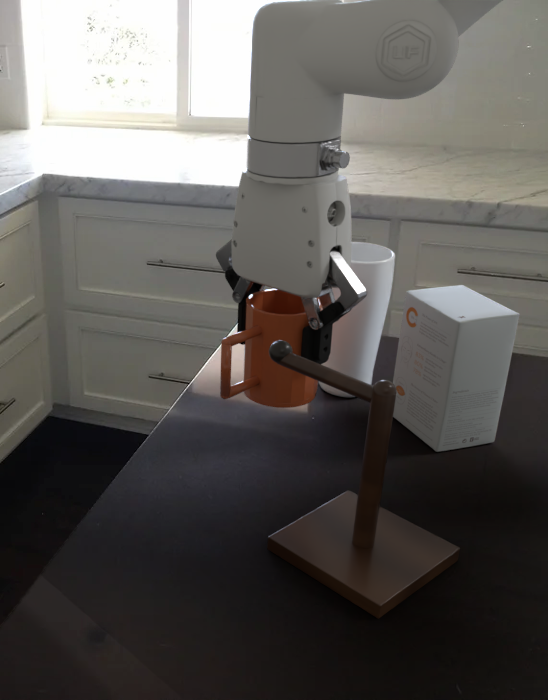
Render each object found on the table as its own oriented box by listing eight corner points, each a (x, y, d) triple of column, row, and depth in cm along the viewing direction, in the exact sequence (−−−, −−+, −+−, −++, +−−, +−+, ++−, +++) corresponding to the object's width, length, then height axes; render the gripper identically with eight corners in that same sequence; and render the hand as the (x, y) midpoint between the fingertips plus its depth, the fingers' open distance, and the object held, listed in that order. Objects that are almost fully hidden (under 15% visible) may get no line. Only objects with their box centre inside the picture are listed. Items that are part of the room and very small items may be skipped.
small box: (495, 443, 80) (523, 313, 75) (435, 453, 79) (458, 321, 73) (441, 404, 87) (463, 282, 82) (385, 412, 86) (403, 289, 81)
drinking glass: (310, 399, 89) (324, 260, 83) (310, 371, 95) (323, 239, 89) (379, 405, 87) (399, 264, 81) (375, 376, 93) (393, 243, 87)
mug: (275, 369, 85) (279, 283, 82) (331, 392, 81) (338, 301, 77) (194, 405, 79) (195, 314, 76) (249, 432, 74) (253, 336, 71)
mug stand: (298, 476, 76) (313, 320, 70) (458, 560, 65) (493, 384, 59) (218, 519, 70) (227, 353, 64) (378, 619, 60) (407, 432, 53)
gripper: (411, 165, 68) (388, 370, 75) (245, 138, 81) (239, 316, 88) (352, 181, 64) (333, 397, 71) (186, 151, 77) (185, 336, 84)
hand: (281, 350), depth 79 cm, fingers closed on mug, 6 cm apart
